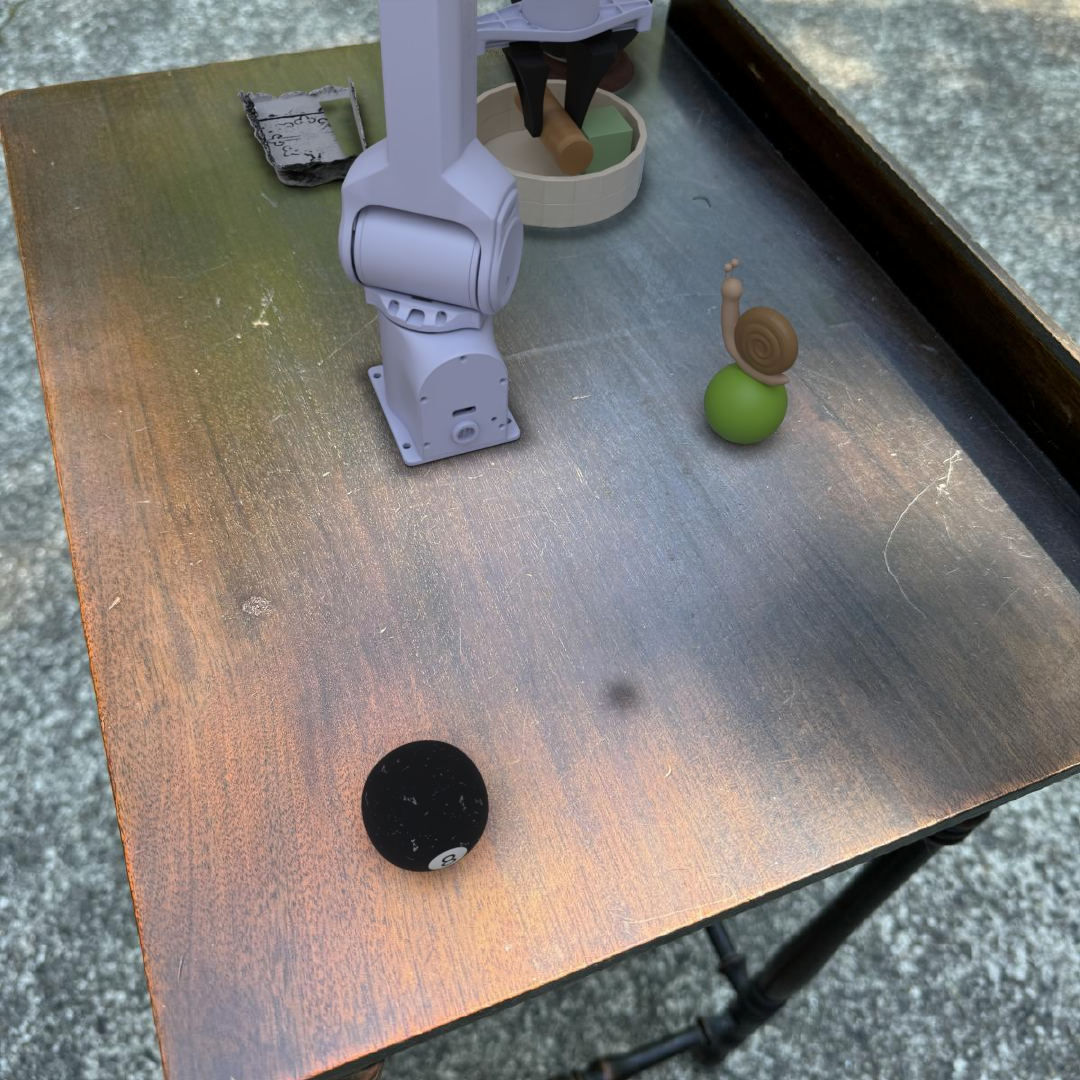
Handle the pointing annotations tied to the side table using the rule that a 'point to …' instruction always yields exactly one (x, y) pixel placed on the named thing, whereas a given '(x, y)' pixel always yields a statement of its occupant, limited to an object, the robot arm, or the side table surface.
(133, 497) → the side table surface
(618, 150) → the green block
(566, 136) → the brown wooden cylinder
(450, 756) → the billiard ball
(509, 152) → the bowl
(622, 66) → the snow globe
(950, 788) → the side table surface
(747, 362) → the snail figurine
